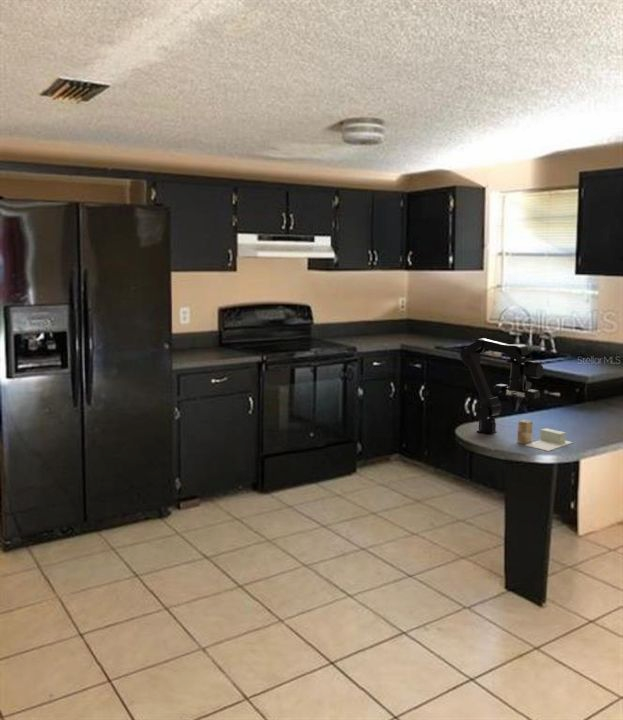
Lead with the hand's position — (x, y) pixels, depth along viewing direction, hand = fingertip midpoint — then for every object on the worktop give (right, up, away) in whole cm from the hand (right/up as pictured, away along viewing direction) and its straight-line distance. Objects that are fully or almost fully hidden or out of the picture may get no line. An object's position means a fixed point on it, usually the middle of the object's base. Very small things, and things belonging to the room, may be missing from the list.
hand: (515, 411), depth 290 cm
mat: (+12, -13, -6) cm, 19 cm away
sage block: (+12, -10, +1) cm, 16 cm away
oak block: (+3, -13, -4) cm, 14 cm away
